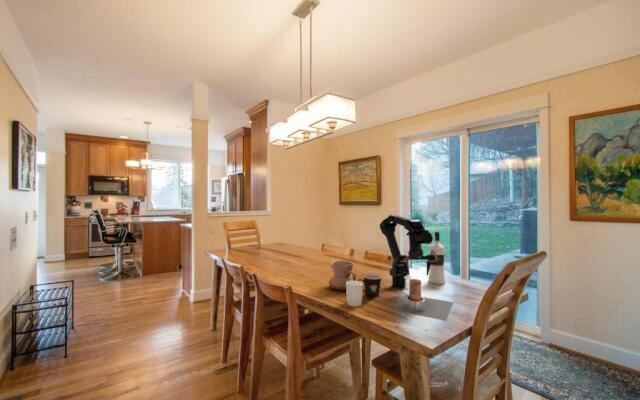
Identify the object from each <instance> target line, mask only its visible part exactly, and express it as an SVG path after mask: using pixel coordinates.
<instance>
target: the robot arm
mask: <svg viewBox="0 0 640 400" xmlns="http://www.w3.org/2000/svg"><path fill="white" fill-rule="evenodd" d="M398 225H400V226H402V227H404V230H407V231H408V232H407V233H406V236H408V244H409V250H408V252H407V254H408V255H407V254H401V251H400V247H399V245H398V242H397V241H398V240H397V239H396V236H395V232H396V227H397V226H398ZM379 229H380V230H381V233H382V235H384V236H385V238H386V241H387V244H388V248H389V250H390V253H391V257H392V263H391V269H390V270H389V276H391V277H392V279H391V280H392V281H391V285H390V286H391V287H392V288H395V289H396V288H397V289H404V288H405V287H406V286H407V281H406V280H407V279H406V277H407V276H410V267H409V266H410V265H409V261H410V260H413V261H414V260H415V261H416V260H420V261H421V260H426V276H429V271H430V266H431V263H432V262H434V261H436V260H437V257H436V255H435V254H430V253H429V254H427V255H424V249H423V248H422V245H429V244H430V245H431V244H432V243H433V238H434V236H433V235H432V234H431V233H430V232H429V229H426V228H425V227H424V225H423V223H422V221H421V220H419V219H409V218H405V217H403V216H400V215H398V214H389V215H388V216H387V217H386V218H384V219H383V220H382V221H381V222H380V223H379Z"/></svg>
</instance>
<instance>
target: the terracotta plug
mask: <svg viewBox="0 0 640 400" xmlns="http://www.w3.org/2000/svg"><path fill="white" fill-rule="evenodd" d="M408 287H409V288H408V290H409V293H408V295H409V300H413V301H421V297H422V280H421V279H417V278H410V279H409V286H408Z"/></svg>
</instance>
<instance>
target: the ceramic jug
mask: <svg viewBox="0 0 640 400" xmlns="http://www.w3.org/2000/svg"><path fill="white" fill-rule="evenodd" d="M353 266H354V263H353V262H352V261H350V260H334V261H331V263H330V268H331V271H332V272H333V275H334V276H332V277H331V278H330V279H329V280H328V285H329V287H330V288H331V289H333V290H336V291H346V282H347V281H357V274H356V272H355V271H354V270H353V269H354V267H353ZM351 274H352V277H351V276H350V275H351Z"/></svg>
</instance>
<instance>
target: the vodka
mask: <svg viewBox="0 0 640 400" xmlns="http://www.w3.org/2000/svg"><path fill="white" fill-rule="evenodd" d="M429 254H435V255H436V257H437V260H436V261H434V262H432V263H431V266H430V269H429V273H428V282H429V283H430V284H434V285H443V284H445V283H446V277H445V246H444V245H443V244H441V243H440V231H434V242H432V243H431V244H430V245H429Z"/></svg>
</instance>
